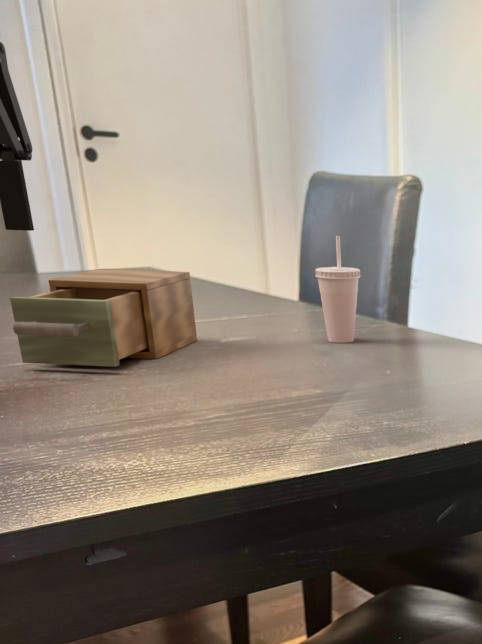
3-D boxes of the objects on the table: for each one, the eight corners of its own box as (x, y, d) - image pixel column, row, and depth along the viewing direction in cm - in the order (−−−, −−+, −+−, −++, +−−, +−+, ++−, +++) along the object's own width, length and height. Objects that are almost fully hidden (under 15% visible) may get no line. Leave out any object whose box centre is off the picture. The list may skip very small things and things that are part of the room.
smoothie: (328, 345, 129) (322, 237, 122) (312, 338, 133) (306, 234, 127) (370, 342, 131) (366, 237, 125) (353, 335, 136) (349, 233, 130)
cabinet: (156, 359, 117) (146, 283, 112) (61, 354, 117) (47, 279, 113) (197, 340, 130) (189, 271, 125) (111, 336, 130) (101, 268, 126)
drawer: (99, 374, 103) (87, 306, 100) (2, 369, 104) (-12, 302, 101) (161, 347, 119) (153, 288, 116) (76, 343, 120) (66, 284, 117)
